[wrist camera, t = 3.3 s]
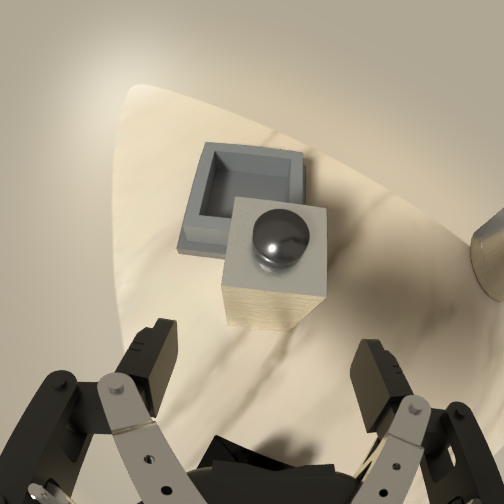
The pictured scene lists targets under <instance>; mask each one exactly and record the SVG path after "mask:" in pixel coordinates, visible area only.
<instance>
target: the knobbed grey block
mask: <svg viewBox="0 0 504 504" xmlns="http://www.w3.org/2000/svg"><path fill="white" fill-rule="evenodd" d="M221 288H222V294H223V300H224V306H225V312H226V318H227V324H228V326H236V327H244V328H253V329H262V330H272V331H283V332H288V331H289V330H290V329H292V328H293V327H294V326H295V325H296V324H297V323H298V322H300V321H301V320H302V319H303V318H304V317H305V316H306V315H307V314H308V313H310V312H311V311H312V310H313V309H314V308H315V307H316V306H317V305H318V304H319V303H321V302H322V301H323V300H324V299H325V298H326V295H327V214H326V208H321V207H315V206H308V205H301V204H293V203H286V202H278V201H270V200H262V199H254V198H245V197H236V196H235V201H234V207H233V213H232V219H231V225H230V231H229V237H228V244H227V250H226V257H225V263H224V270H223V276H222V283H221Z"/></svg>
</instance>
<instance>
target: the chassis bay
mask: <svg viewBox="0 0 504 504" xmlns="http://www.w3.org/2000/svg"><path fill="white" fill-rule="evenodd" d="M235 196H236V197H245V198H254V199H262V200H270V201H278V202H286V203H293V204H301V205H305V201H306V166H303V153H301V152H295V151H288V150H281V149H273V148H265V147H256V146H247V145H237V144H226V143H213V142H205V145H204V148H203V152H202V154H201V157H200V160H199V164H198V167H197V171H196V174H195V178H194V181H193V185H192V189H191V192H190V196H189V200H188V204H187V208H186V212H185V216H184V220H183V224H182V228H181V232H180V236H179V240H178V245H177V251H178V253H179V254H186V255H194V256H202V257H210V258H219V259H225V257H226V250H227V244H228V237H229V231H230V225H231V219H232V213H233V207H234V201H235Z"/></svg>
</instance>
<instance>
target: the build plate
mask: <svg viewBox="0 0 504 504" xmlns="http://www.w3.org/2000/svg"><path fill="white" fill-rule="evenodd" d="M213 460H219V461H227V462H236V463H245V464H248V465H252V466H255V467H259V468H263V469H267V470H271V471H282V470H287V469H291V468H296V467H293V466H290V465H288V464H285V463H282V462H279V461H276V460H274V459H271V458H268V457H266V456H263V455H261V454H258V453H256V452H253V451H251V450H249V449H246V448H244V447H242V446H239V445H237V444H235V443H233V442H231V441H228V440H226V439H224V438H222V437H220V436H218V435H216V436H214V438H213V440H212V442H211V444H210V445H209V447H208V449H207V451H206V453H205V454H204V456H203V458H202V460H201V462H200V463H199V465H198V467H197V469H199V468H205V467H212V464H213Z"/></svg>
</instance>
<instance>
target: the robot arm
mask: <svg viewBox="0 0 504 504" xmlns="http://www.w3.org/2000/svg"><path fill="white" fill-rule="evenodd" d="M470 252H471V260H472V264H473V268H474V271H475V273H476V276H477V278H478V280H479V282H480V284H481V286H482V287H483V289H484V290H485V291H486V293H487V294H488V295H489V296H490V297H492V298H493V299H495V300H497V301H504V208H503V209H502V210H501V211H499V212H498V213H497V214H496V215H495V216H493V217H492V218H491V219H490V220H489V221H488V222H487V223H485V224H484V225H483V226H481V227H480V228H479V229H478V230H477V231H476V232H475V233H474V234H473V237H472V239H471V247H470ZM177 354H178V339H177V322H176V321H175V320H169V319H163V318H158V320H157V322H156V323H155V325H154V327H153V328H148V327H145V328H144V329H143V330H141V331H140V332H138V333H137V335H136V336H135V338H134V340H133V342H132V343H131V345H130V346H129V349H128V350H127V352H126V353H125V355H124V357H123V359H122V360H121V362H120V364H119V366H118V367H117V369H116V371H115V372H114V373H110V374H107V375H105V376H103V377H102V378H101V379H100V380H99V382H77V379H76V377H75V376H74V375H73V374H72V373H71V372H68V371H65V370H59V371H54V372H52V373H50V374H49V375H48V376H47V377H46V378H45V380H44V381H43V383H42V384H41V386H40V387H39V389H38V391H37V392H36V394H35V395H34V397H33V399H32V400H31V402H30V403H29V405H28V407H27V408H26V410H25V412H24V414H23V415H22V417H21V419H20V421H19V422H18V424H17V426H16V427H15V429H14V431H13V433H12V435H11V436H10V438H9V440H8V442H7V444H6V446H5V448H4V450H3V452H2V454H1V455H0V504H76V503H75V502H74V501H73V500H72V499H71V495H72V492H73V489H74V486H75V483H76V480H77V478H78V475H79V472H80V469H81V466H82V463H83V461H84V458H85V455H86V453H87V450H88V447H89V445H90V442H91V440H92V437H93V435H94V434H112V435H113V438H114V441H115V443H116V446H117V448H118V451H119V453H120V455H121V458H122V460H123V462H124V465H125V467H126V469H127V471H128V473H129V475H130V478H131V480H132V482H133V484H134V486H135V487H136V489H137V491H138V494H139V496H140V497H141V499H142V501H141V502H139V503H137V504H403V501H404V499H405V497H406V495H407V493H408V490H409V488H410V486H411V484H412V481H413V479H414V476H415V474H416V471H417V469H418V466H419V463H420V467H421V471H422V474H423V478H424V482H425V486H426V490H427V494H428V498H429V502H430V504H504V484H503V481H502V479H501V476H500V473H499V471H498V468H497V465H496V463H495V461H494V458H493V456H492V453H491V451H490V449H489V447H488V444H487V442H486V440H485V438H484V436H483V433H482V431H481V429H480V427H479V425H478V423H477V421H476V419H475V417H474V415H473V413H472V411H471V409H470V408H469V407H468V406H467V405H466V404H464V403H462V402H452V403H450V404H449V406H448V407H447V408H446V410H442V409H434V408H431V407H430V405H429V403H428V402H427V401H426V400H425V399H424V398H422V397H420V396H416V395H414V394H413V392H412V390H411V388H410V386H409V384H408V382H407V379H406V377H405V375H404V374H403V372H402V370H401V368H400V367H399V364H398V362H397V360H396V358H395V357H394V356H393V355H392V354H391V353H390V352H389V351H388V350H384V348H383V346H382V344H381V342H380V341H379V340H378V339H362V340H361V342H360V344H359V347H358V349H357V352H356V354H355V357H354V359H353V362H352V364H351V368H350V378H351V381H352V384H353V387H354V391H355V394H356V397H357V400H358V404H359V407H360V411H361V414H362V417H363V421H364V424H365V428H366V431H367V433H373V432H377V435H378V436H377V438H376V439H375V441H374V443H373V444H372V446H371V448H370V450H369V452H368V453H367V455H366V457H365V459H364V460H363V462H362V464H361V465H360V467H359V469H358V470H357V471H356V473H355V474H354V476H353V477H352V476H350V475H347V474H344V473H340V472H336V471H335V467H334V464H325V465H305V466H300V467H296V468H291V469H287V470H282V471H271V470H267V469H263V468H259V467H255V466H252V465H248V464H245V463H236V462H227V461H219V460H213V464H212V467H205V468H199V469H195V470H192V471H189V472H185V470H184V469H183V467H182V466H181V464H180V463H179V461H178V459H177V458H176V456H175V454H174V453H173V451H172V449H171V448H170V446H169V444H168V442H167V441H166V439H165V437H164V435H163V434H162V432H161V430H160V428H159V426H158V425H157V423H156V422H155V421H153V420H152V419H151V417H154V418H156V417H157V414H158V411H159V408H160V405H161V402H162V399H163V397H164V394H165V391H166V388H167V385H168V383H169V380H170V377H171V374H172V371H173V369H174V366H175V363H176V360H177ZM450 446H451V447H452V450H453V453H454V455H455V458H456V464H455V466H453V463H452V460H451V457H450V454H449V452H448V448H449V447H450Z"/></svg>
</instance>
